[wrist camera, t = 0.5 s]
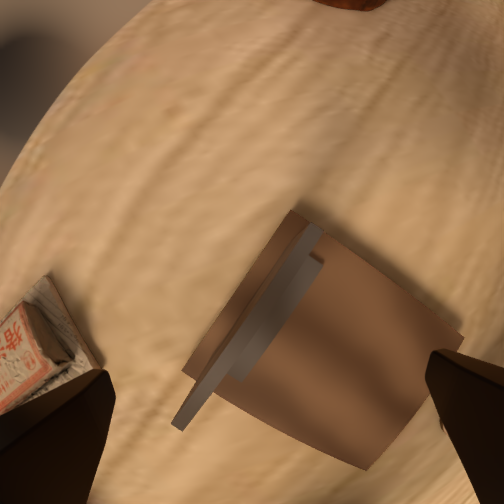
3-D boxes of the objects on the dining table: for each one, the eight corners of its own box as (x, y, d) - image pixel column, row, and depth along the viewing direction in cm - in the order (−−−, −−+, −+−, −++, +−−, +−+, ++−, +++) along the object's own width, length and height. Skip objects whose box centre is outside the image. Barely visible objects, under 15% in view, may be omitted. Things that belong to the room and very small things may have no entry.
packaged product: (-7, 442, 19) (-50, 362, 19) (18, 427, 24) (-23, 354, 24) (78, 387, 19) (18, 274, 19) (107, 369, 23) (52, 273, 24)
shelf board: (361, 462, 22) (403, 545, 10) (186, 364, 23) (128, 435, 11) (455, 334, 22) (547, 364, 11) (288, 213, 23) (311, 162, 12)
